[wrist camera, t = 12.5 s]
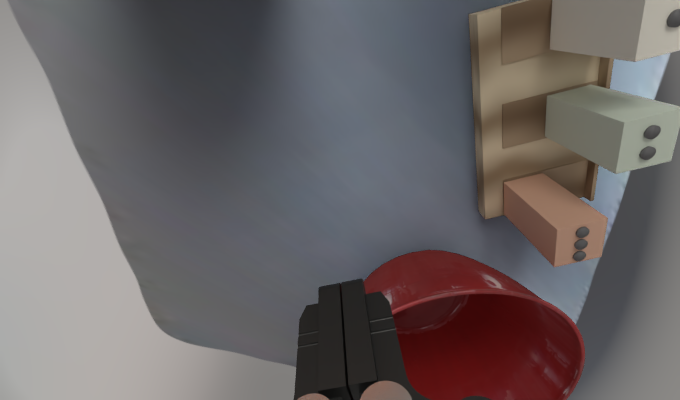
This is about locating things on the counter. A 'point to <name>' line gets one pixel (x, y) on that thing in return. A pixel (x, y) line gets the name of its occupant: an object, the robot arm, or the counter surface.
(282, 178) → the counter surface
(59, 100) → the counter surface
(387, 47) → the counter surface
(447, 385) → the mixing bowl
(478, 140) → the board
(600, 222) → the key
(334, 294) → the robot arm
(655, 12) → the grey rectangular block
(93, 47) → the counter surface
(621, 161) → the grey green block
